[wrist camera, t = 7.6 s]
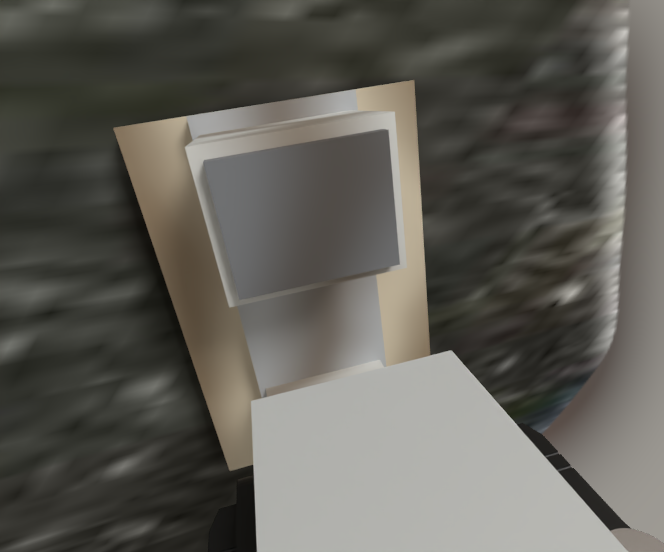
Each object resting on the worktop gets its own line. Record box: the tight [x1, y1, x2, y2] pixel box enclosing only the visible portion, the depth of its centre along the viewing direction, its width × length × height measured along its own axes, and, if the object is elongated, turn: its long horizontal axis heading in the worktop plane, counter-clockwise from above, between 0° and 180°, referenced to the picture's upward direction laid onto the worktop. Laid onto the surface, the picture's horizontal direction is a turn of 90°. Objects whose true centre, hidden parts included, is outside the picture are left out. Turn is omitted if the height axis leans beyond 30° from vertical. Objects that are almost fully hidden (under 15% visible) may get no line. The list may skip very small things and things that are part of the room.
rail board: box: [114, 80, 430, 471], centre depth 18 cm, size 12×18×8 cm, turn 9°
